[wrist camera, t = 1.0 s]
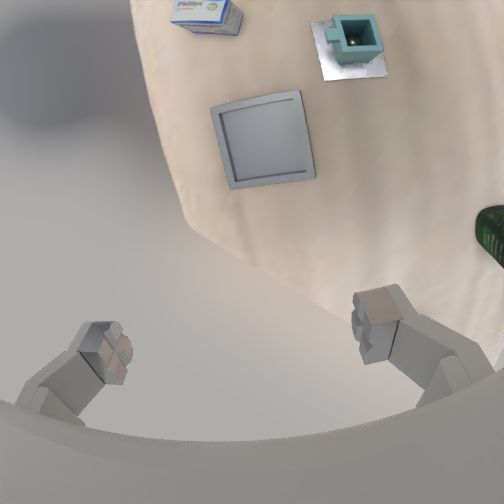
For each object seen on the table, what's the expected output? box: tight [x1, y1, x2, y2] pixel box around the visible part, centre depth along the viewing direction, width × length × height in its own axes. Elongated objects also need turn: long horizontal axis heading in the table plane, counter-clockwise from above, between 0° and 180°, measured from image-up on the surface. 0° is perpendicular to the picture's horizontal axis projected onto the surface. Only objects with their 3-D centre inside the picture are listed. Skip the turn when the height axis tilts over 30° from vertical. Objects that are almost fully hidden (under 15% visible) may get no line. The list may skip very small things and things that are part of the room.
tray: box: [210, 90, 316, 190], centre depth 41 cm, size 14×14×2 cm
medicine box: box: [170, 0, 243, 35], centre depth 29 cm, size 8×4×9 cm, turn 78°
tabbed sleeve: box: [325, 15, 384, 64], centre depth 27 cm, size 5×6×10 cm
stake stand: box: [310, 21, 388, 81], centre depth 29 cm, size 10×10×5 cm
